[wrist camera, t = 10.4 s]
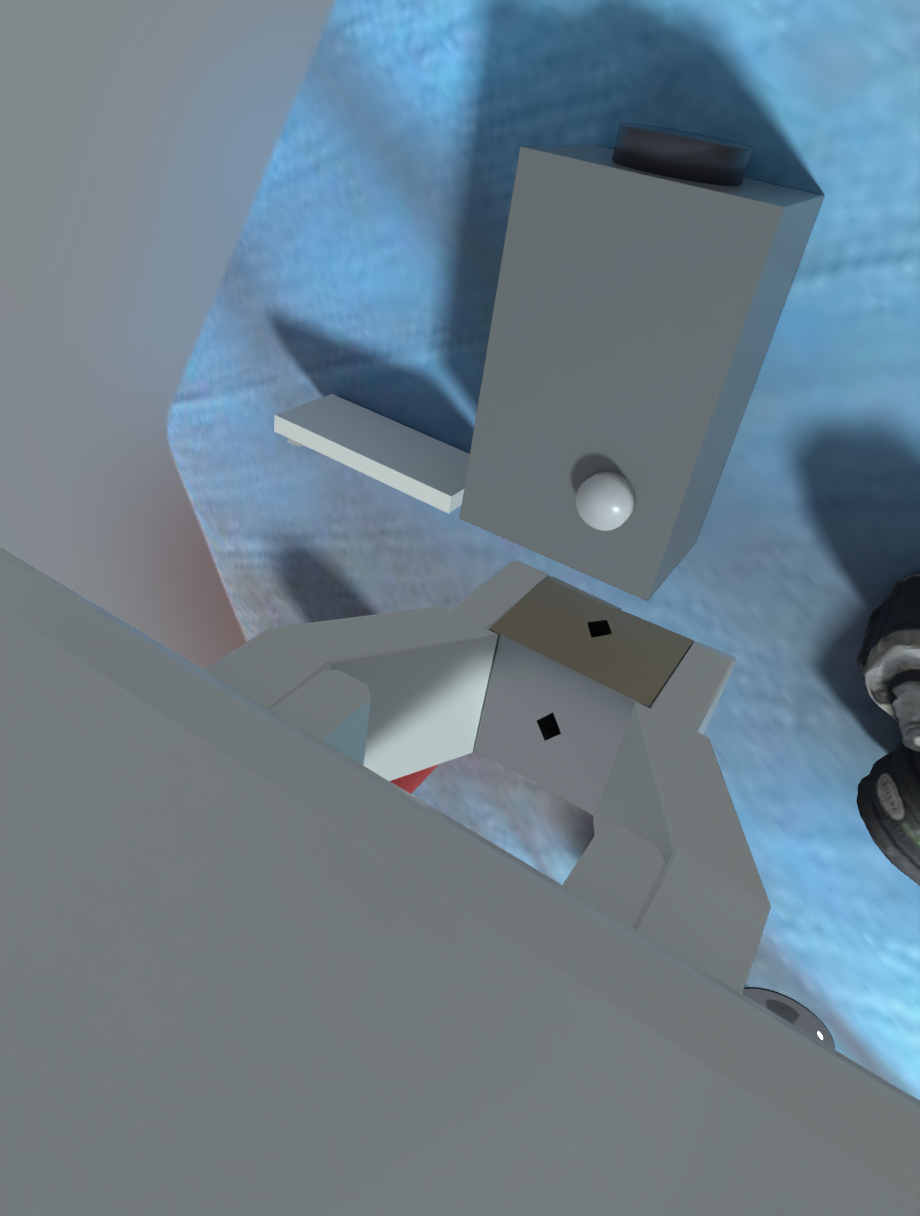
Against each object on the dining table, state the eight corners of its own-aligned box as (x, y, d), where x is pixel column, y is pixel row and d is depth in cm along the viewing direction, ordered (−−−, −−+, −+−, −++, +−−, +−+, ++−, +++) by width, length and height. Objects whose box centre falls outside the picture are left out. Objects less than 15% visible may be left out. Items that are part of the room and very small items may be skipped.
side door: (330, 418, 49) (274, 440, 45) (331, 393, 48) (274, 414, 45) (493, 491, 45) (446, 523, 41) (499, 466, 44) (451, 496, 40)
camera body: (597, 112, 34) (511, 107, 28) (837, 161, 30) (793, 166, 25) (522, 472, 44) (447, 522, 38) (695, 542, 40) (641, 608, 35)
